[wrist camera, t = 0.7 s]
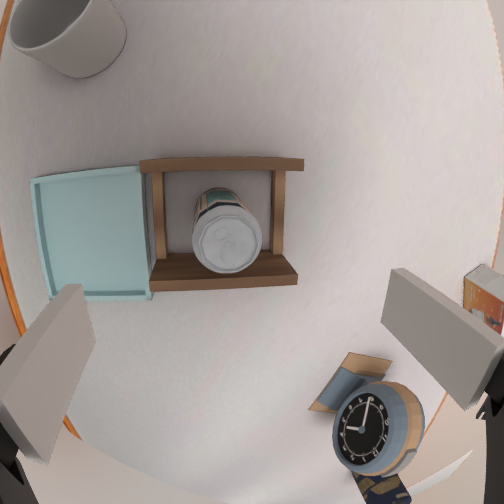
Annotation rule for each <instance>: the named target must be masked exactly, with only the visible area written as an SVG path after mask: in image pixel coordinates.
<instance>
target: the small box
mask: <svg viewBox="0 0 504 504" xmlns="http://www.w3.org/2000/svg"><path fill="white" fill-rule="evenodd" d="M463 308H464V309H466V310H467V311H468V312H470V313H471V314H473V315H474V316H475V317H477V318H478V319H479V320H481V321H482V322H484V323H485V324H486V325H488V326H489V327H490V328H492V329H493V330H494V331H496V332H497V333H498V334H500V335H501V336H502V337H504V275H502V274H500V273H499V272H497V271H495V270H493V269H491V268H490V267H488V266H486V265H484V264H482V265H480V266H479V267H478V268H476V269H475V270H474V271H472V272H471V273H469V274H468V275H467V276H465V277H464V304H463Z"/></svg>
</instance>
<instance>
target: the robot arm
mask: <svg viewBox="0 0 504 504" xmlns="http://www.w3.org/2000/svg"><path fill="white" fill-rule="evenodd" d="M381 323H382V324H383V325H384V326H385V327H386V328H387V329H388V330H389V331H390V332H391V333H392V334H393V335H394V336H395V337H396V338H397V339H398V340H399V341H400V342H401V343H402V345H403V346H404V347H405V348H406V349H407V350H408V351H409V352H410V353H411V354H412V355H413V356H414V357H415V358H416V359H417V360H418V361H419V362H420V363H421V364H422V365H423V367H424V368H425V369H426V370H427V371H428V372H429V373H430V374H431V375H432V376H433V377H434V378H435V379H436V380H437V382H438V383H439V384H440V385H441V386H442V387H443V388H444V389H445V390H446V391H447V392H448V394H449V395H450V396H451V397H452V398H453V399H454V400H455V401H456V402H457V404H459V406H460V407H461V408H462V409H463V410H464V411H465V410H467V409H469V408H471V407H472V406H474V405H475V404H477V403H478V401H479V399H480V397H481V396H482V394H483V392H484V391H485V392H486V393H487V394H488V396H487V398H486V400H485V402H484V403H483V405H482V407H481V408H480V410H479V412H478V413H477V415H476V419H478V418H479V417H480V415H481V413H482V412H485V414H484V415H483V417H482V418H481V419H483V420H486V436H487V437H486V438H487V459H486V482H485V494H484V504H504V337H502V336H501V335H500V334H498V333H497V332H496V331H494V330H493V329H492V328H490V327H489V326H488V325H486V324H485V323H484V322H482V321H481V320H479V319H478V318H477V317H475V316H474V315H473V314H471V313H470V312H468V311H467V310H466V309H464V308H463V307H461V306H460V305H458V304H457V303H456V302H454V301H453V300H451V299H450V298H448V297H447V296H445V295H444V294H443V293H441V292H440V291H438V290H437V289H435V288H434V287H432V286H431V285H429V284H428V283H426V282H425V281H423V280H422V279H420V278H419V277H417V276H416V275H414V274H412V273H411V272H409V271H408V270H406V269H405V268H399V269H391V274H390V280H389V285H388V290H387V295H386V300H385V304H384V309H383V313H382V317H381ZM95 343H96V339H95V336H94V332H93V328H92V325H91V321H90V317H89V313H88V309H87V304H86V300H85V296H84V291H83V286H82V284H66V285H65V286H64V287H63V288H62V289H61V290H60V291H59V293H58V294H57V295H56V296H55V297H54V298H53V299H52V301H51V302H50V303H49V304H48V305H47V306H46V308H45V309H44V310H43V311H42V312H41V314H40V315H39V316H38V317H37V318H36V320H35V321H34V322H33V323H32V325H31V326H30V327H29V328H28V330H27V331H26V332H25V333H24V335H23V336H22V337H21V338H20V340H19V341H18V342H17V344H13V345H12V346H11V347H9V348H8V349H7V350H6V351H4V352H3V353H2V355H1V356H0V504H39V503H38V501H37V499H36V497H35V495H34V493H33V491H32V488H31V486H30V484H29V482H28V480H27V477H26V475H25V472H24V470H23V468H22V465H21V463H20V461H19V460H18V459H17V457H16V454H17V452H18V449H20V451H21V452H22V453H23V454H24V456H26V458H27V459H28V460H30V461H33V462H37V463H40V464H44V465H48V464H49V461H50V458H51V454H52V451H53V448H54V445H55V442H56V439H57V436H58V434H59V430H60V428H61V425H62V422H63V420H64V417H65V414H66V412H67V409H68V406H69V404H70V401H71V399H72V396H73V394H74V391H75V389H76V386H77V384H78V381H79V379H80V377H81V374H82V372H83V370H84V367H85V365H86V363H87V361H88V358H89V356H90V354H91V352H92V349H93V347H94V345H95Z"/></svg>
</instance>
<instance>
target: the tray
mask: <svg viewBox="0 0 504 504" xmlns="http://www.w3.org/2000/svg"><path fill="white" fill-rule="evenodd" d="M30 190H31V201H32V210H33V218H34V226H35V233H36V239H37V245H38V250H39V256H40V261H41V266H42V271H43V275H44V279H45V284H46V288H47V292H48V296H49V300H52V299H53V298H54V297H55V296H56V295H57V294H58V293H59V291H60V290H61V289H62V288H63V287H64V286H65V285H66V284H82V286H83V291H84V296H85V300H86V301H135V300H152V298H153V295H154V292H150V289H149V278H150V276H151V273H152V271H151V262H150V252H149V241H148V228H147V214H146V197H145V173H141V174H140V165H135V166H123V167H112V168H103V169H93V170H85V171H77V172H69V173H62V174H55V175H49V176H43V177H37V178H32V179H30Z"/></svg>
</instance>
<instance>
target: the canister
mask: <svg viewBox="0 0 504 504" xmlns="http://www.w3.org/2000/svg"><path fill="white" fill-rule="evenodd" d="M352 475H353V477H354V479H355V481H356V483H357V485H358V488H359V490H360V492H361V494H362V496H363V498H364V500H365V502H366V504H410V503H411V497H410V495H409V493H408V491H407V490H406V488H405V486H404V485H403V483H402V481H401V480H400V478H399V476H398V474H397V473H396V474H394V475H391V476H387V477H381V475H376V476H364V475H361V474H359V473H356V472H354V471H352Z"/></svg>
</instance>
